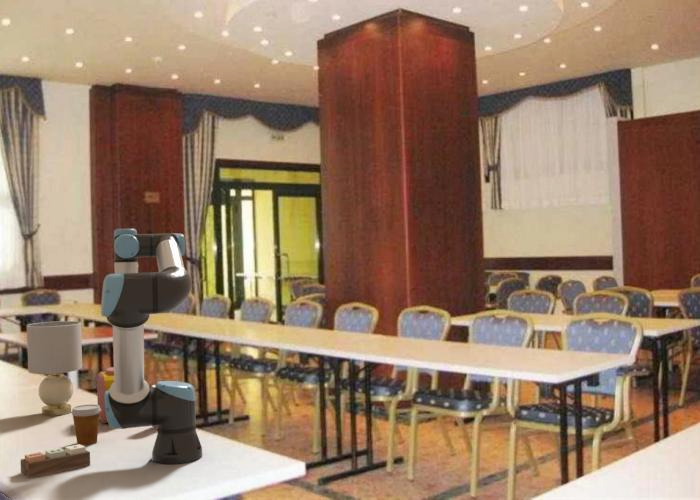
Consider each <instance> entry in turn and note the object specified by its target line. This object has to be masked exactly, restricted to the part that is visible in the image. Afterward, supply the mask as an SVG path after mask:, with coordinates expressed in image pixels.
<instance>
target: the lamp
mask: <svg viewBox="0 0 700 500" xmlns="http://www.w3.org/2000/svg"><path fill="white" fill-rule="evenodd" d="M26 341H27V345H26V346H27V367H28V370H27V371H28V373H30V374H33V375H34V374H35V375H47V376H46V377H45V378H43V379H42V381H41V382H40V383H39V387H38V396H39V399H40V400H41V402H42V403H43V404H44V406H42V407H41V415H42V416H45V417H57V416H63V415H69V414H70V413H71V412H72V404H70V403H68V402H69V401H70V400H71V398H72V397H73V395H74V385H73V382H72V381H71V379H70V378H69V377H68V376H67V375H65V374H64V373H70V372H76V371H79V370H81V369H83V350H82V346H83V345H82V344H83V343H82V322H81V321H75V320H74V321H73V320H72V321H71V320H61V321H60V320H59V321H57V320H56V321H43V322H35V323H29V324H27V325H26ZM71 414H72V413H71Z"/></svg>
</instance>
